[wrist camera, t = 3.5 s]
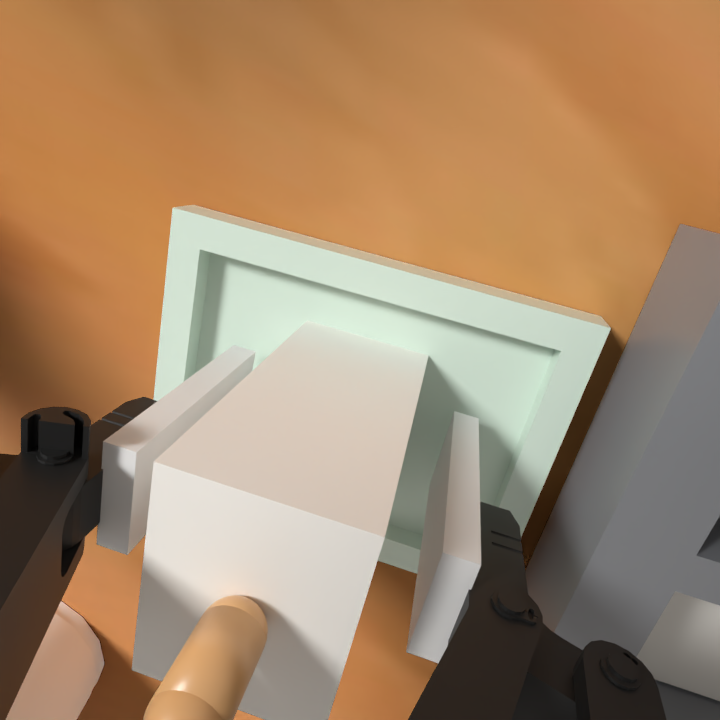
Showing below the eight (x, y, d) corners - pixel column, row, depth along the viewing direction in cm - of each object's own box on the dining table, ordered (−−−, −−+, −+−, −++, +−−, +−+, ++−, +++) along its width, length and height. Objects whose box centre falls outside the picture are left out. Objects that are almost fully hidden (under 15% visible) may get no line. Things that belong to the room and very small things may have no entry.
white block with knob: (307, 320, 17) (30, 574, 7) (428, 355, 17) (348, 687, 6) (280, 452, 19) (29, 820, 8) (388, 486, 19) (273, 920, 8)
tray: (193, 204, 17) (172, 207, 16) (600, 315, 16) (611, 328, 15) (163, 465, 21) (144, 483, 20) (492, 572, 20) (494, 599, 18)
